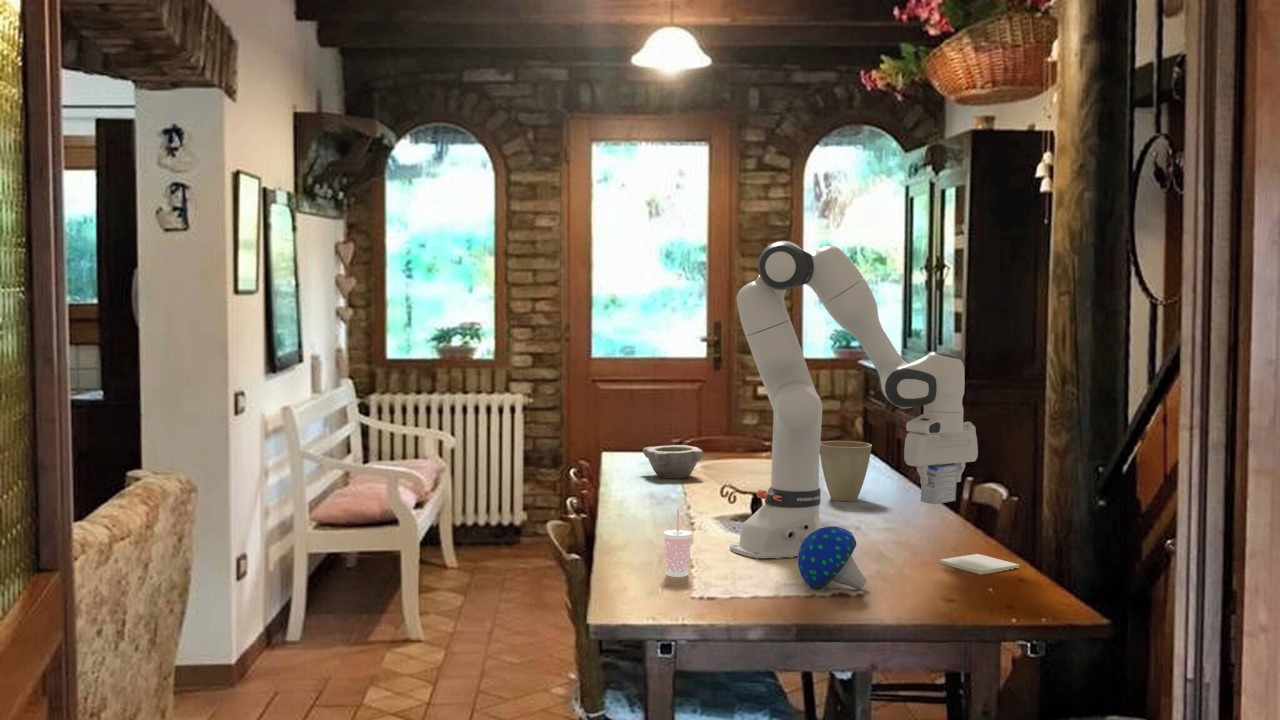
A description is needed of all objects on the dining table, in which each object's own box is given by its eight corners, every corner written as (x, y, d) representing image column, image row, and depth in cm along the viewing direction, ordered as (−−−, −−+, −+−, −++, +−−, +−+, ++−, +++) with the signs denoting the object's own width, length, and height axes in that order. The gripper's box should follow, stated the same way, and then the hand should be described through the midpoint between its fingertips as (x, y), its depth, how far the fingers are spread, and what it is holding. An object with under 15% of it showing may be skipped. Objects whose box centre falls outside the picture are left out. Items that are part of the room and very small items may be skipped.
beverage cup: (662, 570, 266) (663, 506, 265) (691, 571, 265) (692, 506, 264) (662, 577, 260) (663, 511, 259) (691, 578, 259) (692, 512, 258)
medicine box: (939, 498, 288) (941, 461, 287) (956, 501, 284) (958, 464, 284) (919, 502, 282) (921, 464, 282) (936, 505, 279) (938, 467, 278)
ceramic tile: (980, 574, 265) (980, 570, 265) (939, 563, 276) (939, 559, 275) (1019, 568, 272) (1019, 564, 272) (977, 557, 282) (977, 553, 282)
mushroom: (891, 558, 245) (831, 511, 246) (849, 615, 243) (789, 568, 244) (876, 556, 259) (819, 512, 260) (836, 611, 257) (779, 566, 258)
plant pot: (881, 500, 352) (882, 445, 350) (843, 505, 343) (844, 448, 342) (844, 492, 364) (845, 439, 363) (806, 497, 356) (808, 442, 354)
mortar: (639, 473, 395) (639, 445, 394) (689, 471, 400) (690, 443, 399) (654, 482, 379) (655, 452, 378) (706, 480, 384) (707, 450, 383)
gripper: (965, 419, 290) (962, 478, 291) (900, 423, 279) (898, 484, 280) (985, 422, 284) (983, 482, 285) (920, 426, 274) (918, 488, 275)
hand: (940, 483), depth 283 cm, fingers closed on medicine box, 8 cm apart
